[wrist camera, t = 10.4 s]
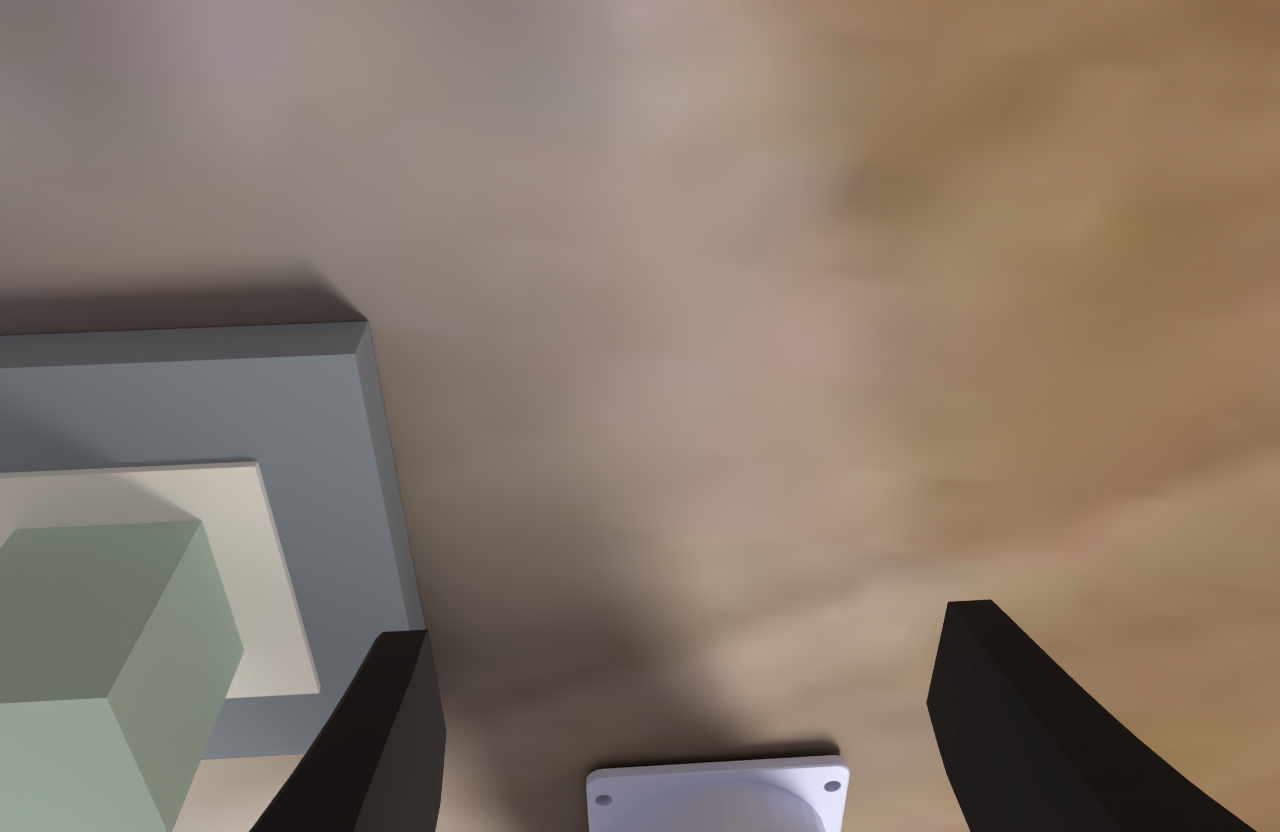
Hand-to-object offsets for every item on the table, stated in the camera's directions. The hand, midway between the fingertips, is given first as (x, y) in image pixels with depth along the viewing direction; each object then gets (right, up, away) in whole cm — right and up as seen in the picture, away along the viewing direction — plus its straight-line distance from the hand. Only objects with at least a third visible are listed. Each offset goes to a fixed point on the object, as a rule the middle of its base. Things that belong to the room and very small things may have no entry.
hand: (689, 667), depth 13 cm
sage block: (-12, -1, +9) cm, 15 cm away
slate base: (-13, 0, +10) cm, 16 cm away
